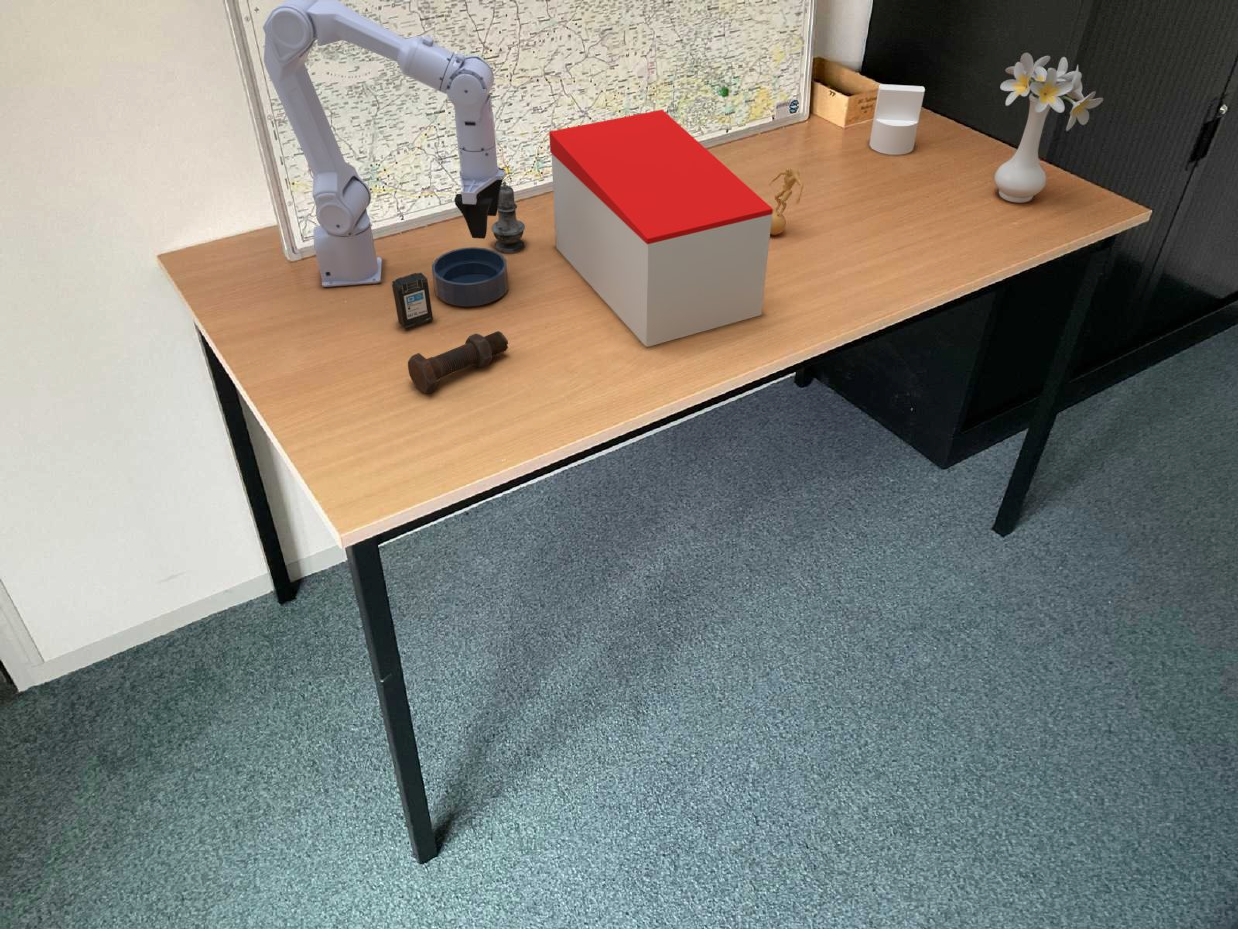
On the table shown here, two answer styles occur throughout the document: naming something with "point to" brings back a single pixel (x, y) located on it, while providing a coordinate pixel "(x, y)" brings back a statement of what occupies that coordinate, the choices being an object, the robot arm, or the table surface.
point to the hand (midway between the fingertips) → (484, 225)
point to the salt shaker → (507, 223)
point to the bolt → (455, 360)
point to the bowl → (470, 276)
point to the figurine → (784, 198)
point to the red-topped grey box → (658, 226)
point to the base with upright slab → (896, 118)
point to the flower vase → (1038, 121)
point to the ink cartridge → (412, 300)
